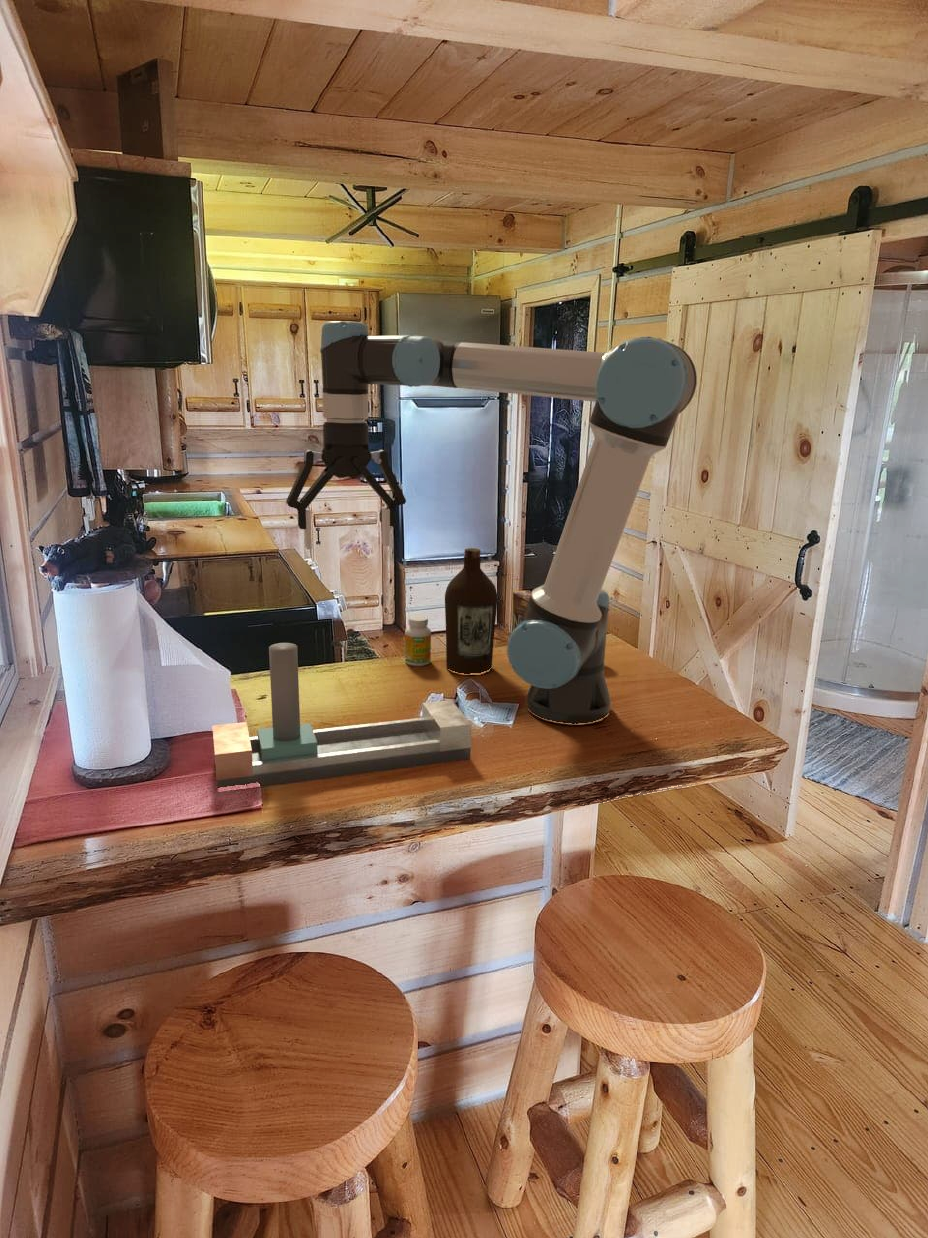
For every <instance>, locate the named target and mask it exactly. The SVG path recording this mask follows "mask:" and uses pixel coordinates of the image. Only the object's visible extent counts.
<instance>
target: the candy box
mask: <svg viewBox="0 0 928 1238" xmlns="http://www.w3.org/2000/svg"><path fill="white" fill-rule="evenodd" d="M531 593H532V590H529V589H527V590H525V589H524V590H516V591H513V592H512V614H511V615H512V616H511V617H512V619H511V633H512V632H513V630H514V629H515V628H516V627H517V625H519V624H520V623H521V621H522V619H523V616H524V613H525V610H526V607H527V604H528V601H529V598H530V595H531Z"/></svg>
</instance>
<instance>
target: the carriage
mask: <svg viewBox="0 0 928 1238" xmlns="http://www.w3.org/2000/svg"><path fill="white" fill-rule="evenodd" d="M268 654H269V655H268V656H269V677H270V679H269V680H270V698H271V699H270V700H271V719H272V721H271V722H272V727H265V728H263V727H262V728H257V729H256V731H257V736H258V748H259V753H260V758H261V761H267V760H276V759H284V758H292V757H300V756H308V755H316V754H318V749H317V740H316V737H315V735H314V732H313V730H314V729H313V726H312V724H311V722H310V723H309V722H307V723H302V724H301V718H300V717H301V714H300V713H301V711H300V687H299V686H300V685H299V663H298V662H299V660H298V658H299V657H298V645H296V644H295V643H291V642H279V643H274V644H271V645H270V646H268Z"/></svg>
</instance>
